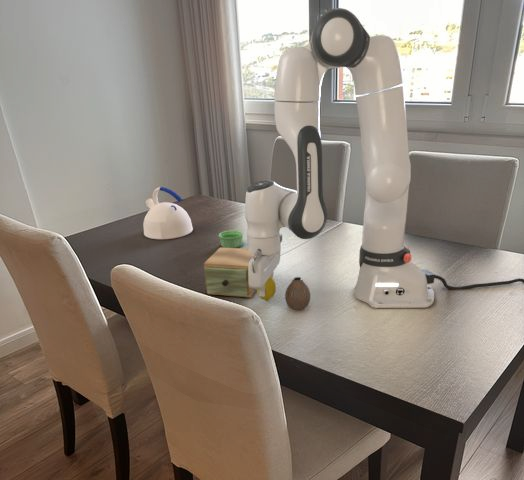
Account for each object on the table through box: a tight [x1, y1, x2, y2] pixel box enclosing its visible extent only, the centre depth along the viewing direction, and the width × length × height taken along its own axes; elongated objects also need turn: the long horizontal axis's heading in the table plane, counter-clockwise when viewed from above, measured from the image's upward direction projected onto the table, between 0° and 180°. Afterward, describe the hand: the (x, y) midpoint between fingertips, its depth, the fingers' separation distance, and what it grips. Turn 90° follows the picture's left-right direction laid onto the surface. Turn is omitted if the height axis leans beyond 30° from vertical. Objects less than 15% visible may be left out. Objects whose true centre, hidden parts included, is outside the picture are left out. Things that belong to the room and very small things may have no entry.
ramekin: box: [218, 229, 244, 248], centre depth 183 cm, size 9×9×4 cm
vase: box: [284, 276, 311, 312], centre depth 134 cm, size 7×7×9 cm
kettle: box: [142, 186, 194, 241], centre depth 198 cm, size 20×21×18 cm
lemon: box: [256, 277, 277, 302], centre depth 139 cm, size 6×6×8 cm
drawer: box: [204, 267, 249, 297], centre depth 147 cm, size 14×13×8 cm
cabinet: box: [203, 246, 257, 298], centre depth 149 cm, size 14×14×10 cm
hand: (266, 290), depth 140 cm, fingers closed on lemon, 5 cm apart
